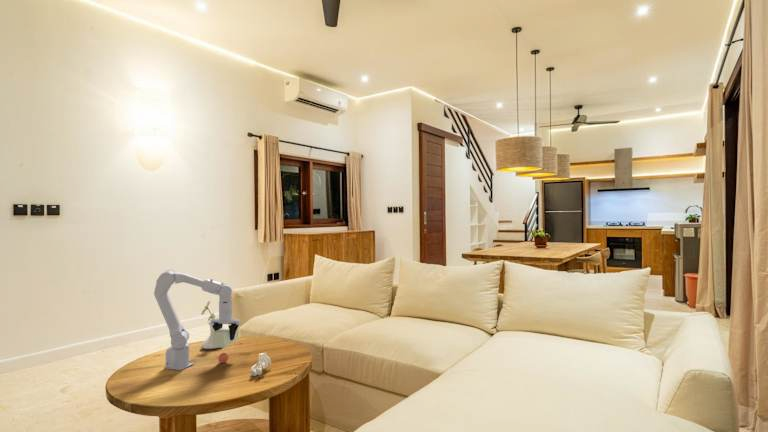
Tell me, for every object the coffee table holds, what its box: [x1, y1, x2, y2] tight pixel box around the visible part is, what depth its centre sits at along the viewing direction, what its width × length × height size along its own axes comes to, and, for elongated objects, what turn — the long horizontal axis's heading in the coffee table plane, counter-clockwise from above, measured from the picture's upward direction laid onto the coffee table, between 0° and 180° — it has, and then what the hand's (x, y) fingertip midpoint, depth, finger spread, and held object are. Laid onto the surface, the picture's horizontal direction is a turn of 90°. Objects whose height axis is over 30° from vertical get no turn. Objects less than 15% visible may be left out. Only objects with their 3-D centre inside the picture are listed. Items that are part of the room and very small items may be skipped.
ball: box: [217, 352, 229, 364], centre depth 190 cm, size 4×4×4 cm
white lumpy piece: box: [250, 351, 272, 377], centre depth 179 cm, size 8×6×12 cm
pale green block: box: [212, 324, 239, 349], centre depth 192 cm, size 6×12×7 cm, turn 168°
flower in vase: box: [200, 300, 219, 350], centre depth 212 cm, size 13×11×25 cm
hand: (225, 339), depth 192 cm, fingers closed on pale green block, 6 cm apart
